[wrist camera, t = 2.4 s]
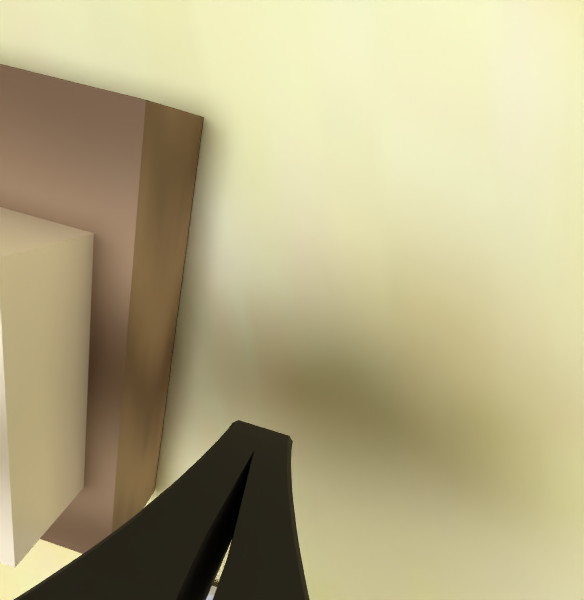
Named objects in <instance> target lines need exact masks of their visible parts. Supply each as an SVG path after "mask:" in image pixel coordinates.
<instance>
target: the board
mask: <svg viewBox="0 0 584 600" xmlns="http://www.w3.org/2000/svg"><path fill="white" fill-rule="evenodd" d="M202 124H203V117H201V116H198V115H194V114H191V113H188V112H184V111H181V110H178V109H174V108H171V107H168V106H164V105H161V104H158V103H154V102H151V101H148V100H144V99H140V98H136V97H132V96H128V95H124V94H120V93H116V92H111V91H107V90H103V89H99V88H95V87H91V86H87V85H83V84H79V83H75V82H71V81H67V80H63V79H59V78H55V77H51V76H47V75H42V74H38V73H34V72H30V71H26V70H22V69H18V68H14V67H10V66H6V65H2V64H0V207H2V208H5V209H9V210H12V211H16V212H20V213H23V214H27V215H30V216H34V217H38V218H41V219H45V220H48V221H52V222H56V223H59V224H63V225H66V226H70V227H74V228H77V229H81V230H84V231H88V232H92V233H94V241H93V266H92V292H91V317H90V342H89V368H88V393H87V418H86V444H85V469H84V488H83V489H82V490H81V491H80V492H79V494H78V495H77V496H76V497H75V498H74V499H73V501H72V502H71V503H70V504H69V505H68V506H67V508H66V509H65V510H64V511H63V512H62V513H61V515H60V516H59V517H58V518H57V519H56V520H55V522H54V523H53V524H52V525H51V526H50V527H49V529H48V530H47V531H46V532H45V533H44V534H43V536H42V537H41V538H40V539H42V540H45V541H48V542H51V543H54V544H57V545H59V546H62V547H65V548H68V549H71V550H74V551H77V552H79V553H82V554H84V553H85V552H87V551H88V550H89V549H91V548H92V547H93V546H95V545H96V544H98V543H99V542H100V541H102V540H103V539H105V538H106V537H107V536H109V535H110V534H111V533H113V532H114V531H115V530H117V529H118V528H119V527H121V526H122V525H123V524H125V523H126V522H127V521H128V520H130V519H131V518H132V517H134V516H135V515H136V514H137V513H139V512H140V511H141V510H142V509H143V508H144V506H145V505H146V503H147V502H148V500H149V499H150V497H151V495H152V494H153V492H154V490H155V482H156V474H157V467H158V459H159V452H160V444H161V436H162V429H163V421H164V413H165V406H166V398H167V391H168V383H169V375H170V368H171V360H172V353H173V345H174V337H175V330H176V322H177V315H178V307H179V299H180V292H181V284H182V277H183V269H184V261H185V254H186V246H187V239H188V231H189V223H190V216H191V208H192V200H193V193H194V185H195V178H196V170H197V162H198V155H199V147H200V140H201V132H202Z"/></svg>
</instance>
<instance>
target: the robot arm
mask: <svg viewBox="0 0 584 600" xmlns="http://www.w3.org/2000/svg"><path fill="white" fill-rule="evenodd" d="M292 442H293V441H292V440H291V438H290V436H288V435H285V434H281V433H278V432H275V431H272V430H268V429H265V428H262V427H259V426H255V425H252V424H249V423H246V422H243V421H239V420H238V421H236V422H234V423H232V425H231V426H230V427H229V428H228V430H227V431H226V432H225V433H224V434H223V435H222V436H221V438H220V439H219V440H218V441H217V442H216V443H215V444H214V445H213V446H212V447H211V448H210V449H209V450H208V451H207V452H206V453H205V454H204V455H203V456H202V457H201V458H200V459H199V460H198V461H197V462H196V463H195V464H194V465H193V466H192V467H191V468H189V469H188V470H187V471H186V472H185V473H184V474H183V475H182V476H181V477H180V478H179V479H178V480H177V481H175V482H174V483H173V484H172V485H171V486H170V487H169V488H167V489H166V490H165V491H164V492H163V493H161V494H160V495H159V496H158V497H157V498H155V499H154V500H153V501H152V502H151V503H149V504H148V505H147V506H146V507H145V508H143V509H142V510H141V511H140V512H139V513H137V514H136V515H135V516H134V517H132V518H131V519H130V520H128V521H127V522H126V523H125V524H123V525H122V526H121V527H119V528H118V529H117V530H115V531H114V532H113V533H111V534H110V535H109V536H107V537H106V538H105V539H103V540H102V541H100V542H99V543H98V544H96V545H95V546H93V547H92V548H91V549H89V550H88V551H87V552H85V553H84V554H82V555H81V556H79V557H78V558H77V559H75V560H74V561H72V562H71V563H69V564H68V565H66V566H65V567H63V568H62V569H60V570H59V571H57V572H56V573H54V574H53V575H51V576H50V577H48V578H47V579H45V580H44V581H42V582H41V583H39V584H38V585H36V586H35V587H33V588H31V589H30V590H28V591H27V592H25V593H24V594H22V595H20V596H19V597H17V598H16V599H14V600H309V595H308V591H307V586H306V581H305V576H304V570H303V565H302V560H301V554H300V548H299V542H298V536H297V529H296V521H295V513H294V504H293V495H292V480H291V449H292ZM231 540H232V541H231ZM230 542H231V546H230V550H229V554H228V557H227V560H226V563H225V566H224V569H223V572H222V574H221V577H220V580H219V583H218V586H217V587H215V586H212V585H213V582H214V580H215V578H216V575H217V573H218V571H219V568H220V566H221V564H222V561H223V559H224V557H225V554H226V552H227V550H228V547H229V545H230Z"/></svg>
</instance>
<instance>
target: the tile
mask: <svg viewBox="0 0 584 600" xmlns="http://www.w3.org/2000/svg"><path fill="white" fill-rule="evenodd" d="M93 241H94V233H92V232H88V231H84V230H81V229H77V228H74V227H70V226H66V225H63V224H59V223H56V222H52V221H48V220H45V219H41V218H38V217H34V216H30V215H27V214H23V213H20V212H16V211H12V210H9V209H5V208H2V207H0V563H3V564H6V565H8V566H11V567H14V568H15V567H16V566H17V565H18V564H19V562H20V561H21V560H22V559H23V558H24V557H25V555H26V554H27V553H28V552H29V551H30V550H31V548H32V547H33V546H34V545H35V544H36V543H37V541H38V540H39V539H40V538H41V537H42V536H43V534H44V533H45V532H46V531H47V530H48V529H49V527H50V526H51V525H52V524H53V523H54V522H55V520H56V519H57V518H58V517H59V516H60V515H61V513H62V512H63V511H64V510H65V509H66V508H67V506H68V505H69V504H70V503H71V502H72V501H73V499H74V498H75V497H76V496H77V495H78V494H79V492H80V491H81V490H82V489H83V488H84V469H85V444H86V418H87V393H88V368H89V342H90V317H91V292H92V266H93Z"/></svg>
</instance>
